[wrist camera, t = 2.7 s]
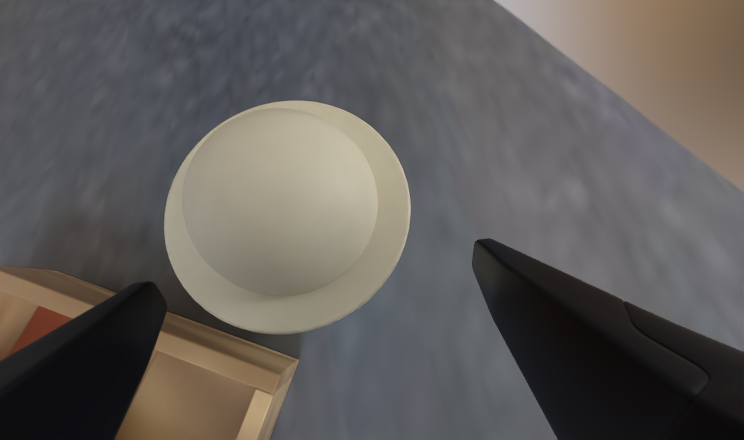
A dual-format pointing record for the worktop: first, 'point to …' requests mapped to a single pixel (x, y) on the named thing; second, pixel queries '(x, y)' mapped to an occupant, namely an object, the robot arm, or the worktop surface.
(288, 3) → the worktop surface
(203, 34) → the worktop surface
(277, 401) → the grid
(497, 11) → the worktop surface
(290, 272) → the dome-topped white cylinder
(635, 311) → the robot arm
